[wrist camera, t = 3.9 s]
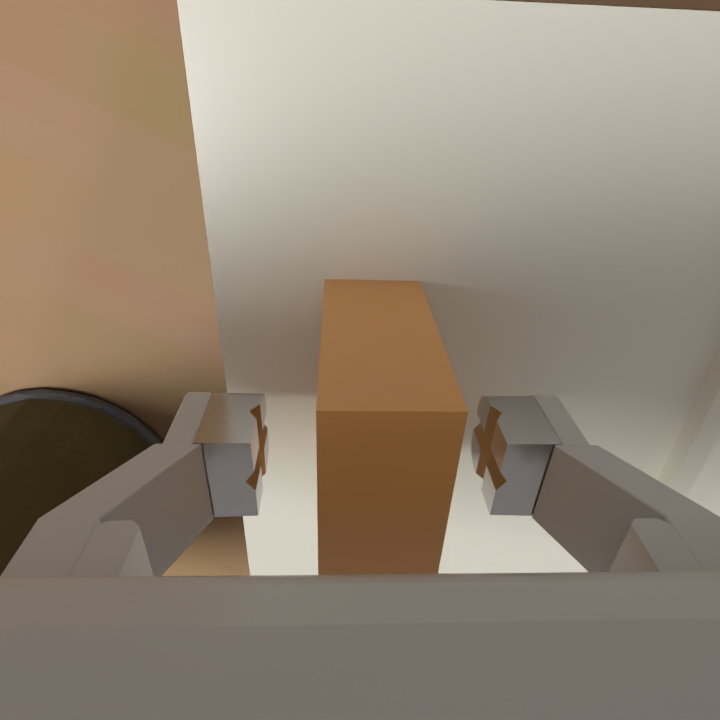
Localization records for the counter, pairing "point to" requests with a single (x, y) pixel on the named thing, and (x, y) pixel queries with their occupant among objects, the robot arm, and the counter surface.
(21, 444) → the canister
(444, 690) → the robot arm
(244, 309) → the lid
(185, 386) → the counter surface
